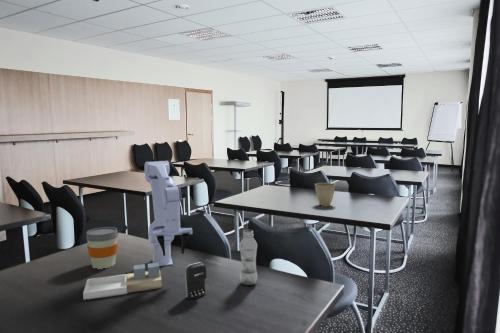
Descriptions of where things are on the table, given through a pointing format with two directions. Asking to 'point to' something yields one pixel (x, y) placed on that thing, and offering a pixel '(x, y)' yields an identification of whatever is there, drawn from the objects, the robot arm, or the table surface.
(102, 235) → the reusable coffee cup
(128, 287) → the beige piece
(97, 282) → the box
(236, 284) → the table surface
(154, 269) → the blue-grey cube
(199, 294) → the battery charger
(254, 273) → the plastic bottle
